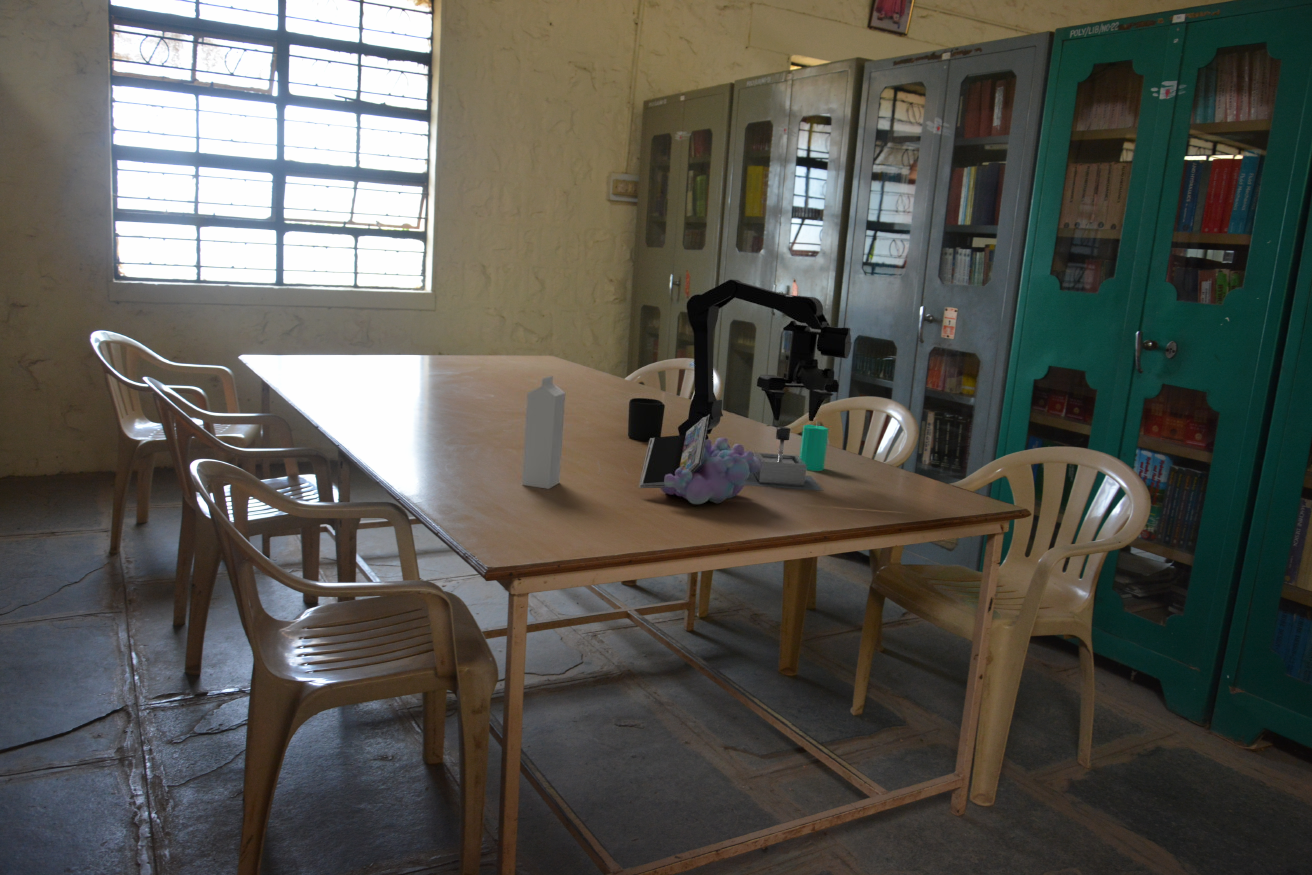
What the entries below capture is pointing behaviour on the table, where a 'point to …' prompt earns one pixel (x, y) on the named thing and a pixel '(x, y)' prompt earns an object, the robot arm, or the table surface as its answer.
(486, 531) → the table surface
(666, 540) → the table surface
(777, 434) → the plunger
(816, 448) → the candle
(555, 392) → the milk
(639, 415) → the pen holder
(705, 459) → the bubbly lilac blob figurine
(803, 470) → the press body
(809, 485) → the slate mat
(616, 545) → the table surface
